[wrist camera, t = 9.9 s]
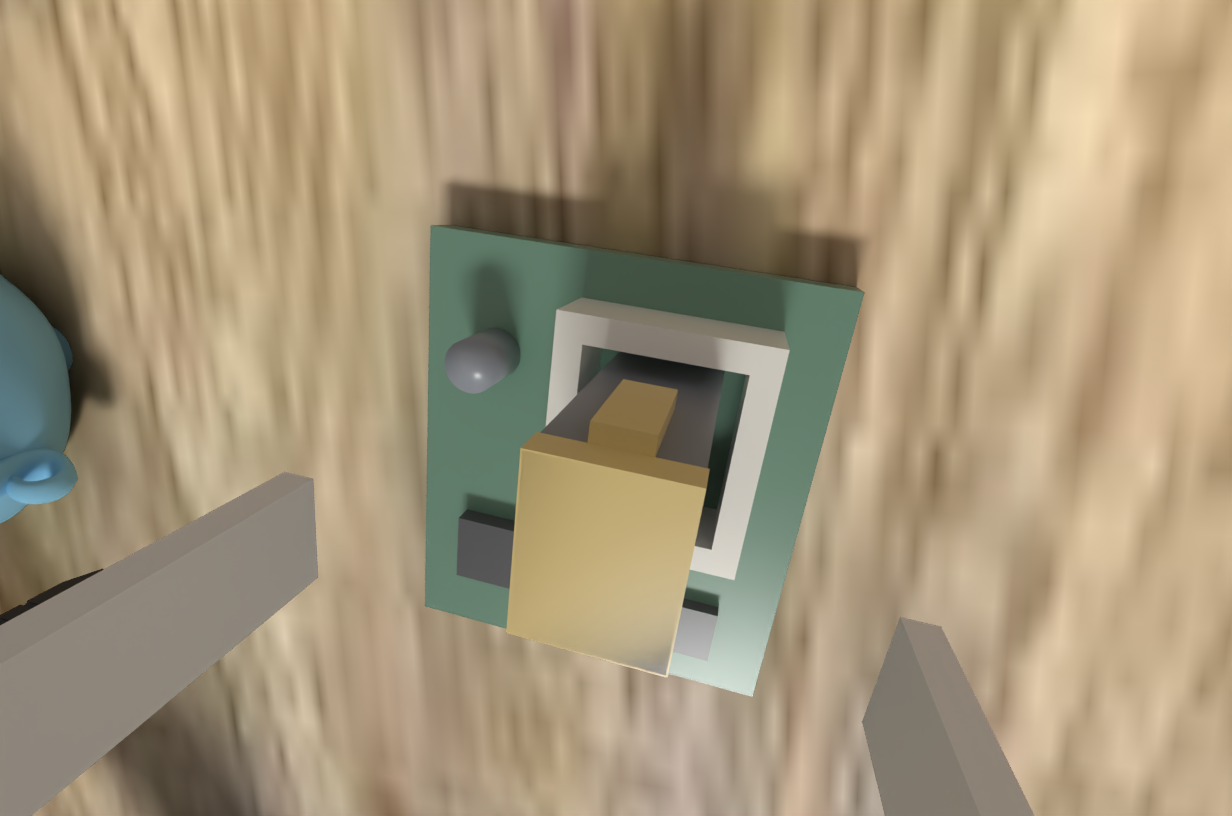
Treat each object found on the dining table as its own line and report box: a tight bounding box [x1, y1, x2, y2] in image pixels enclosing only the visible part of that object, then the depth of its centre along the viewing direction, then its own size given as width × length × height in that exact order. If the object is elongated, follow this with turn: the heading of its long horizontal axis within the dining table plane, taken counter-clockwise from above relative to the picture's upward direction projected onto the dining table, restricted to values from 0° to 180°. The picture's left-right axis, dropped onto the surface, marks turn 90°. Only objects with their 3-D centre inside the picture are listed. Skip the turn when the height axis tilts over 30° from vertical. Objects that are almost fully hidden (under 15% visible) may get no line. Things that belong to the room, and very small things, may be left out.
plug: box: [506, 352, 725, 678], centre depth 18 cm, size 4×6×10 cm
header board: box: [425, 225, 864, 696], centre depth 23 cm, size 16×18×4 cm
